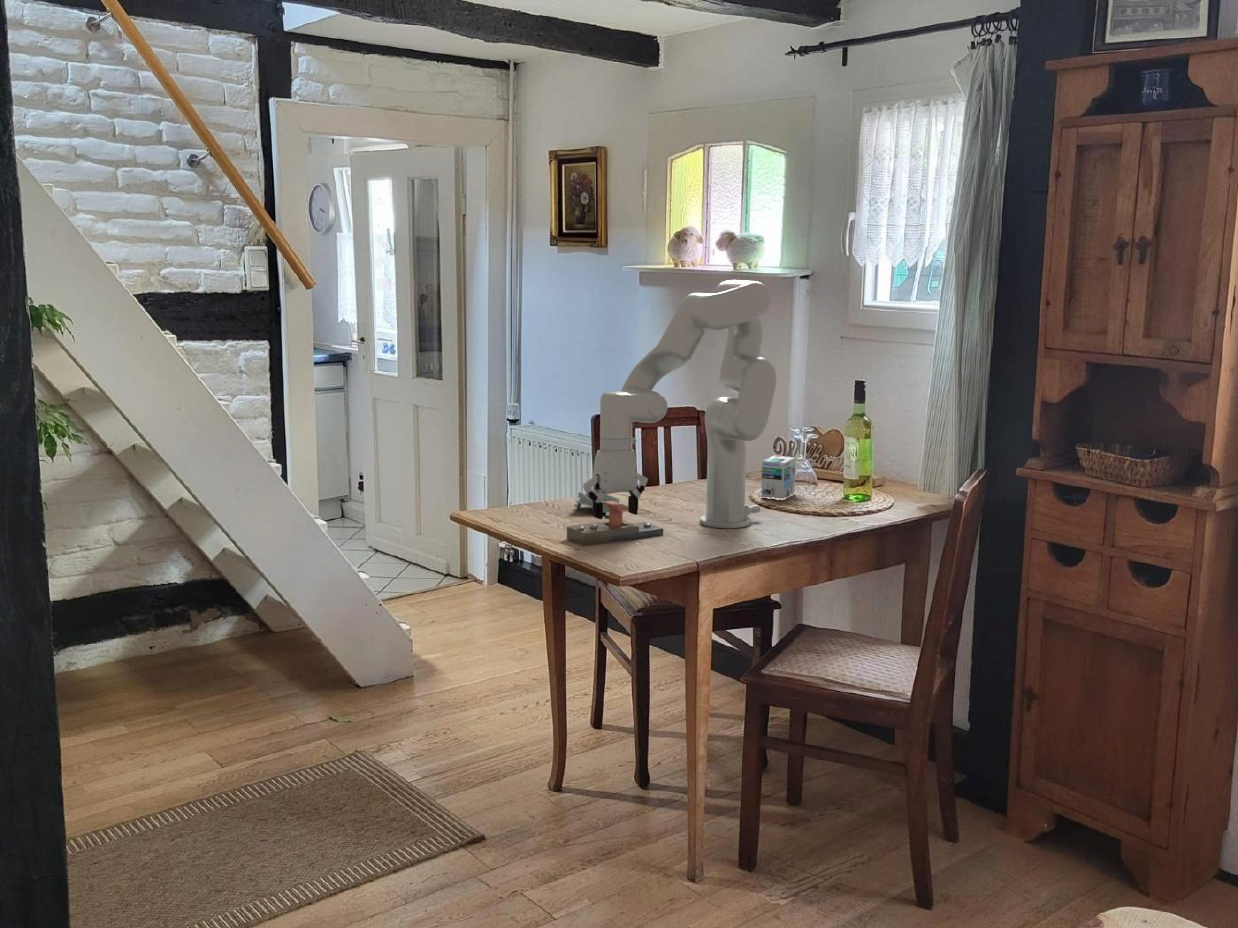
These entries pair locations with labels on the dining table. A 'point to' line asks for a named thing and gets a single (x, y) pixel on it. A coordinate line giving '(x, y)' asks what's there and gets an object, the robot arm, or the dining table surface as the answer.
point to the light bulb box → (778, 476)
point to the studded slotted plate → (610, 532)
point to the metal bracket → (587, 501)
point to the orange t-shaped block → (615, 513)
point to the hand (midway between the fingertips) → (615, 515)
